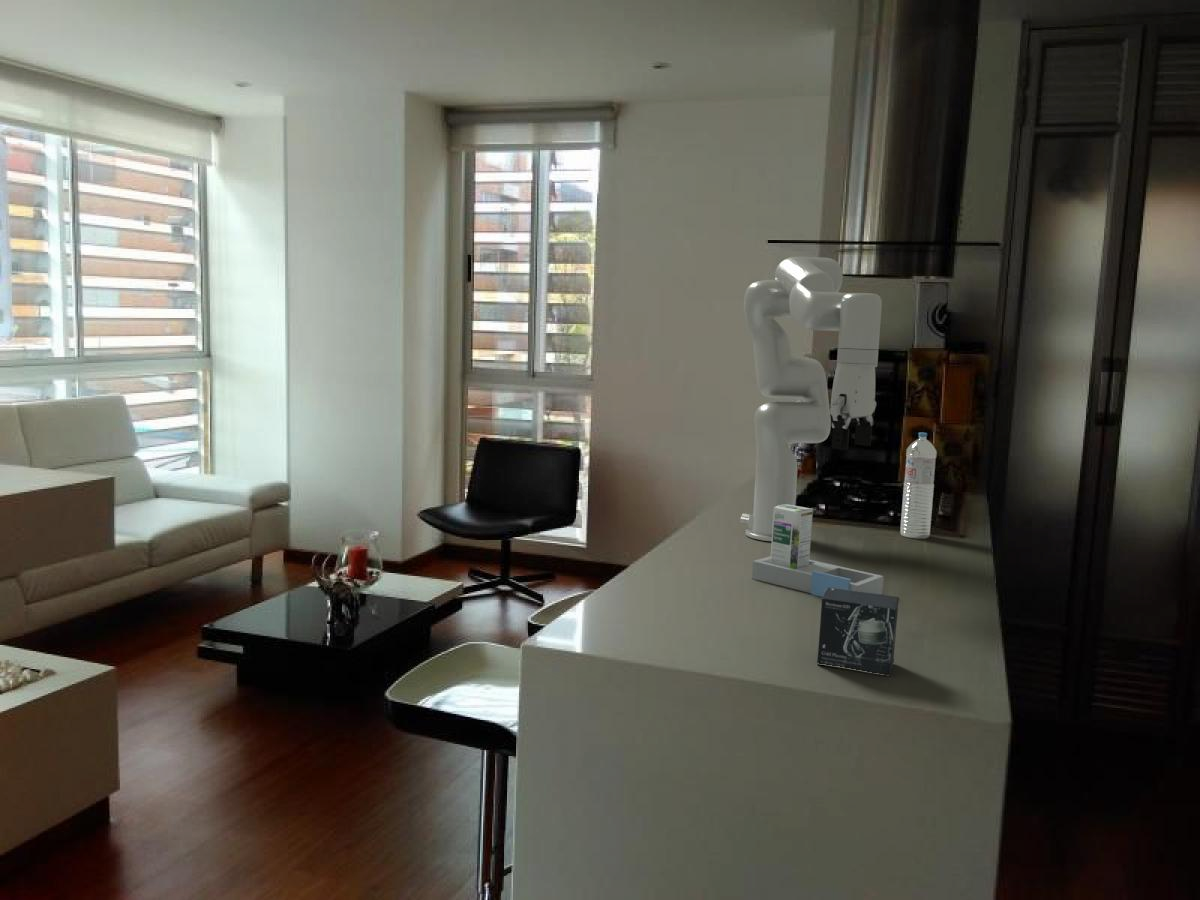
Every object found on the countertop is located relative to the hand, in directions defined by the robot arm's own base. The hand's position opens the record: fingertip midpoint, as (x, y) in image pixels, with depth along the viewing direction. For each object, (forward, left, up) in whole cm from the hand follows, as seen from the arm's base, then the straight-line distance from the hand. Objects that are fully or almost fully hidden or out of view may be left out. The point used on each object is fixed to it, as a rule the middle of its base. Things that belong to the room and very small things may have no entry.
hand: (851, 447), depth 185 cm
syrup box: (-7, -9, -27) cm, 29 cm away
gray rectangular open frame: (-1, -9, -26) cm, 28 cm away
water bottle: (-8, +49, -27) cm, 56 cm away
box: (+25, -42, -27) cm, 56 cm away
